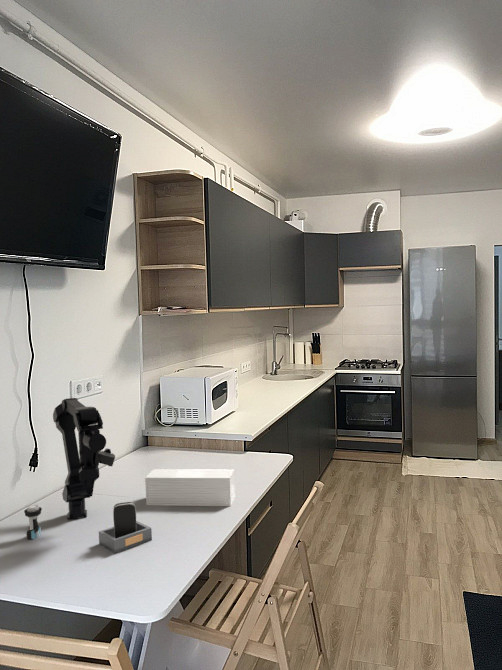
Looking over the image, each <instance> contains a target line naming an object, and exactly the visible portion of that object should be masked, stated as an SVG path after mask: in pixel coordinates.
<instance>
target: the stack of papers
mask: <svg viewBox="0 0 502 670" xmlns="http://www.w3.org/2000/svg"><path fill="white" fill-rule="evenodd" d="M235 474H236V473H235V469H234V468H233V469H224V468H223V469H220V468H219V469H217V468H216V469H214V468H213V469H210V468H209V469H204V468H202V469H198V468H197V469H193V468H191V469H190V468H187V469H186V468H184V469H183V468H177V469H176V468H169V469H167V468H153V469H152V470H151V471H150V472H149V473H148V474H147V475H146V476H145V477H144V482H145V504H146V506H170V507H171V506H173V507H174V506H175V507H176V506H180V507H181V506H182V507H183V506H186V507H187V506H190V507H191V506H192V507H193V506H194V507H195V506H196V507H205V506H206V507H231V506H232V505H233V503H234V500H235V498H236V481H235V480H236V478H235V477H236V475H235Z"/></svg>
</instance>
